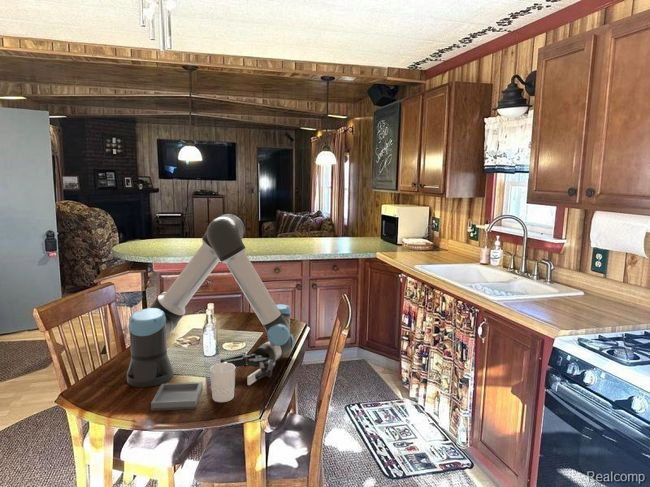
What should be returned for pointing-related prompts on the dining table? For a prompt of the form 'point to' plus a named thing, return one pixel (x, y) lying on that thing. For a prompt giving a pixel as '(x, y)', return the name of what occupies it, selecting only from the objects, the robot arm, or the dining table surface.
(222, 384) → the white cup
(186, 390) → the charcoal tray
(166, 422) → the dining table surface
